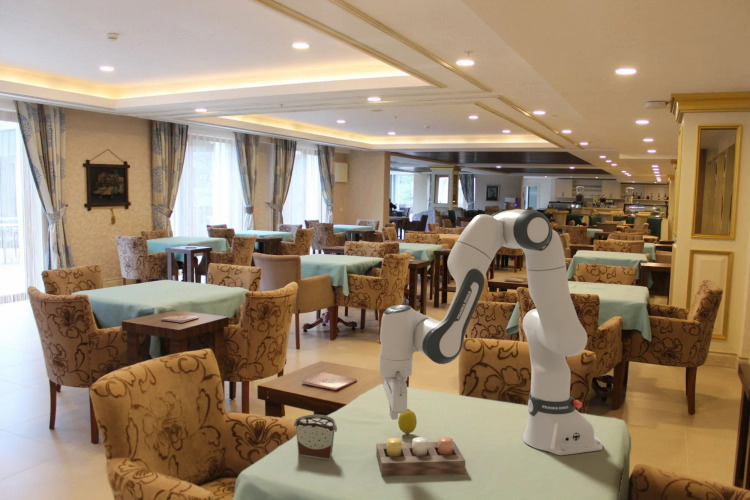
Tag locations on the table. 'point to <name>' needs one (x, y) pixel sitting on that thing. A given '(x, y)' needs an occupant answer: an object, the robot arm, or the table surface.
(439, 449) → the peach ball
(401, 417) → the lemon
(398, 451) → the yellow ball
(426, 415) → the table surface
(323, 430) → the food container
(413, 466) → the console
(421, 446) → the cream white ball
